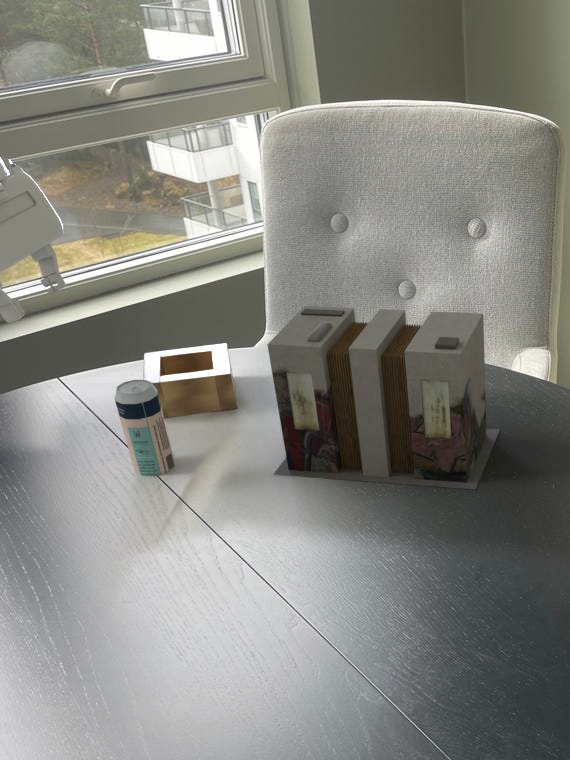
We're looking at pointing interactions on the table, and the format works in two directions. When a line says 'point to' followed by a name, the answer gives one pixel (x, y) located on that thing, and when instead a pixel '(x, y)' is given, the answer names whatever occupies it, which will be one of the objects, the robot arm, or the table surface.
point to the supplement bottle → (144, 427)
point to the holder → (192, 379)
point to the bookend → (383, 397)
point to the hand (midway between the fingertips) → (38, 304)
